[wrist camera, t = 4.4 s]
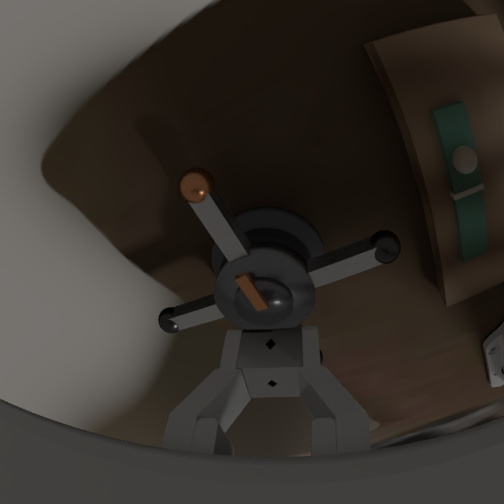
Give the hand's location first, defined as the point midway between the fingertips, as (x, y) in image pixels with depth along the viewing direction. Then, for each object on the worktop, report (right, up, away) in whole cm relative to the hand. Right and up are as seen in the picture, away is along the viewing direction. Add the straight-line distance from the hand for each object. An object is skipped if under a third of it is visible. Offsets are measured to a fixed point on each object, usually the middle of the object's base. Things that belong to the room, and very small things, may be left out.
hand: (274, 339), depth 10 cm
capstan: (0, +2, +14) cm, 14 cm away
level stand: (+16, +9, +8) cm, 20 cm away
